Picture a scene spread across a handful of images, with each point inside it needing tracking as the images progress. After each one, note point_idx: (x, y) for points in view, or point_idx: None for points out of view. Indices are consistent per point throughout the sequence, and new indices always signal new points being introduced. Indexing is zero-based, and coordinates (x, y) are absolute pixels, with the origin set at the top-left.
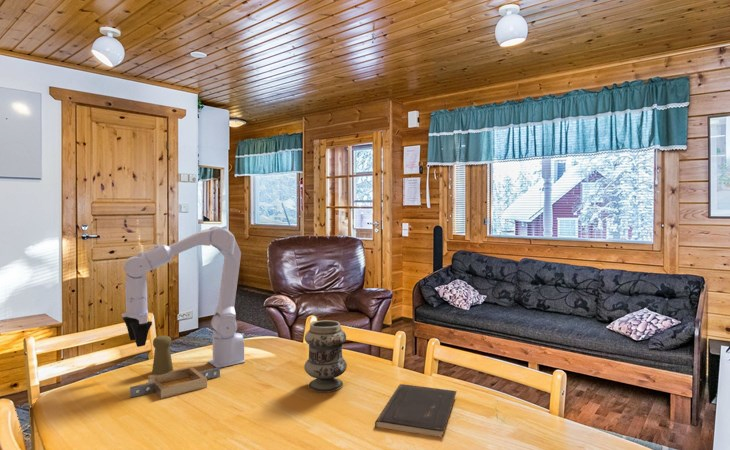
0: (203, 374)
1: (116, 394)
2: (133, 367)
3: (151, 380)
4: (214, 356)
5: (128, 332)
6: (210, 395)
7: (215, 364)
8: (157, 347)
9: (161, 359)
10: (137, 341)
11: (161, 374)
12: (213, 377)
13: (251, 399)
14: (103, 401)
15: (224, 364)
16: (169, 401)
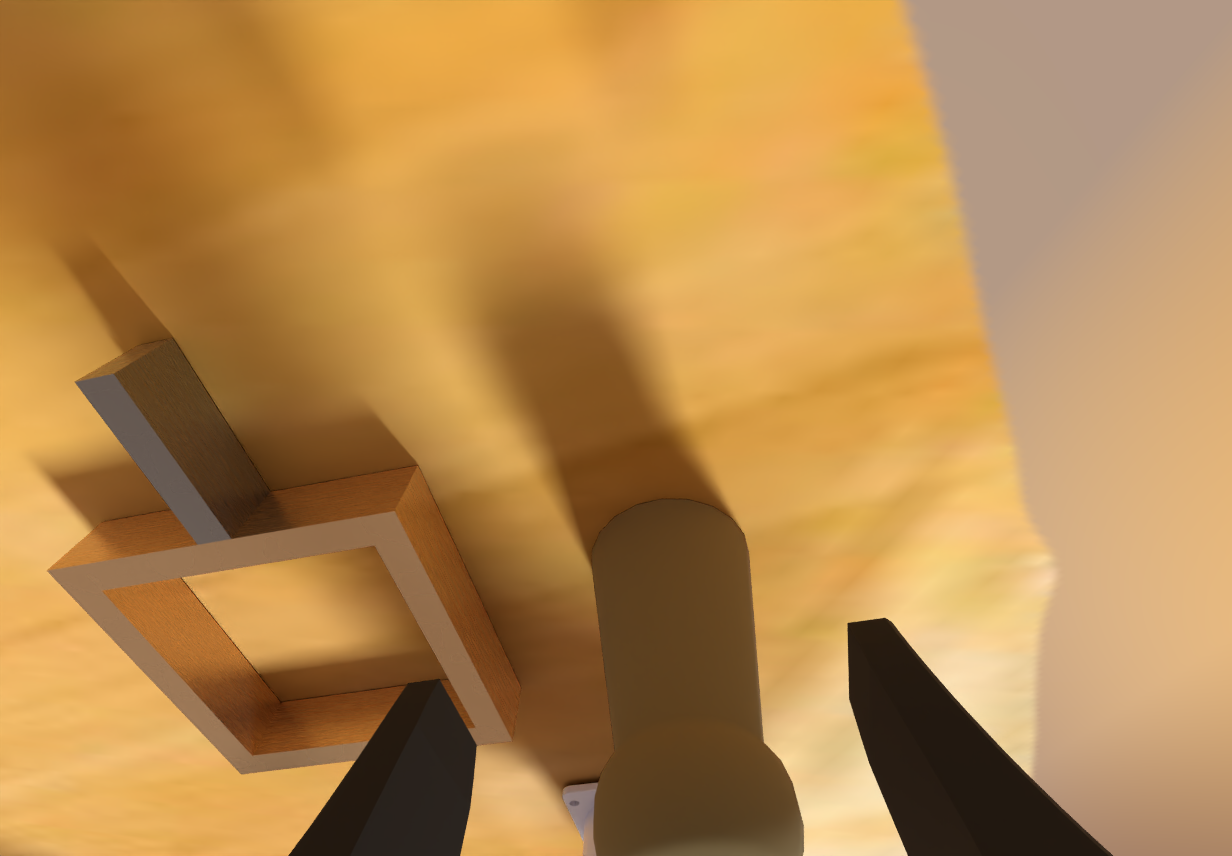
0: None
1: (237, 227)
2: (944, 374)
3: (295, 523)
4: None
5: (968, 746)
6: (140, 718)
7: None
8: (620, 751)
9: (604, 655)
10: (355, 777)
11: (401, 591)
12: None
13: (74, 819)
14: (61, 107)
15: (586, 820)
16: (54, 558)
